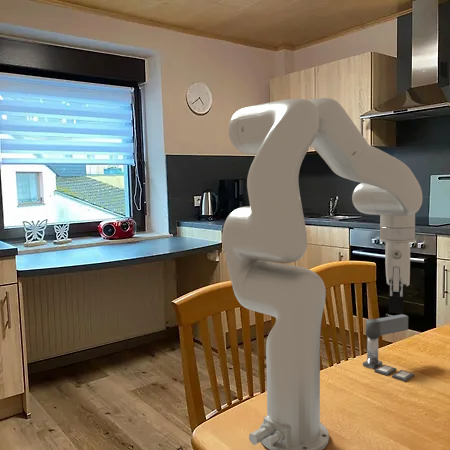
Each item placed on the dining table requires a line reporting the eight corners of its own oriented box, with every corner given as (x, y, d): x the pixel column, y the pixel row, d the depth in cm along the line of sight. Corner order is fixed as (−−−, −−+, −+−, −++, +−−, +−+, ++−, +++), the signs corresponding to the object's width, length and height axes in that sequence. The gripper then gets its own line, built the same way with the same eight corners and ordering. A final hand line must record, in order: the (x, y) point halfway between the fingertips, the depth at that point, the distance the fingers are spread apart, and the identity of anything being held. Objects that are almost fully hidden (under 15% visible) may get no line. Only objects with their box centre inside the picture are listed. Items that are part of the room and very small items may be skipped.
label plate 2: (405, 381, 107) (405, 379, 107) (392, 377, 109) (392, 374, 109) (414, 375, 110) (414, 373, 110) (401, 371, 112) (401, 369, 112)
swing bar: (410, 330, 118) (410, 316, 118) (372, 338, 114) (372, 323, 113) (400, 326, 122) (400, 313, 121) (362, 334, 117) (362, 320, 116)
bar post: (373, 369, 114) (374, 340, 113) (362, 365, 116) (363, 337, 116) (382, 364, 117) (382, 336, 116) (371, 361, 119) (371, 333, 118)
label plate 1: (386, 375, 110) (386, 373, 110) (374, 371, 113) (374, 369, 113) (396, 370, 113) (396, 367, 113) (384, 366, 116) (384, 364, 116)
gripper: (415, 239, 99) (413, 323, 101) (414, 231, 113) (412, 305, 115) (378, 238, 102) (377, 320, 104) (381, 230, 116) (380, 302, 118)
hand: (396, 312), depth 110 cm, fingers closed
